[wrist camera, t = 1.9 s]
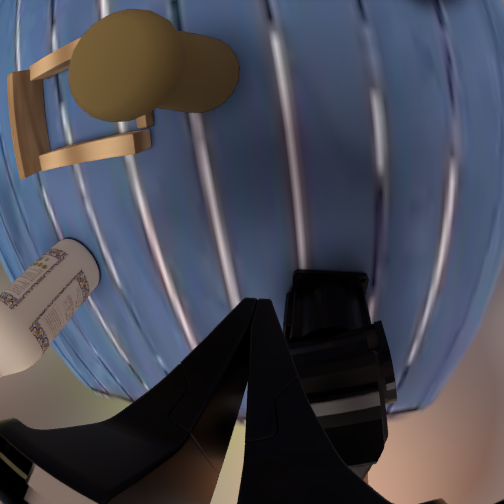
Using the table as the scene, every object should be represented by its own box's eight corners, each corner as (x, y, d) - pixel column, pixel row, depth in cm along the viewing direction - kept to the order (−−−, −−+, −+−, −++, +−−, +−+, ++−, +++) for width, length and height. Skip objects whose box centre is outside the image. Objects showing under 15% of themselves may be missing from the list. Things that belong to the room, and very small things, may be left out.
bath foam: (51, 255, 28) (-50, 367, 11) (69, 225, 25) (-60, 354, 8) (87, 295, 31) (-1, 419, 14) (110, 272, 28) (1, 421, 11)
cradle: (148, 22, 14) (119, 13, 11) (156, 146, 20) (129, 158, 16) (36, 71, 17) (7, 76, 13) (47, 165, 22) (20, 179, 19)
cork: (242, 108, 18) (179, 122, 8) (163, 118, 19) (58, 151, 9) (236, 29, 15) (168, -29, 5) (156, 46, 16) (47, 29, 6)
